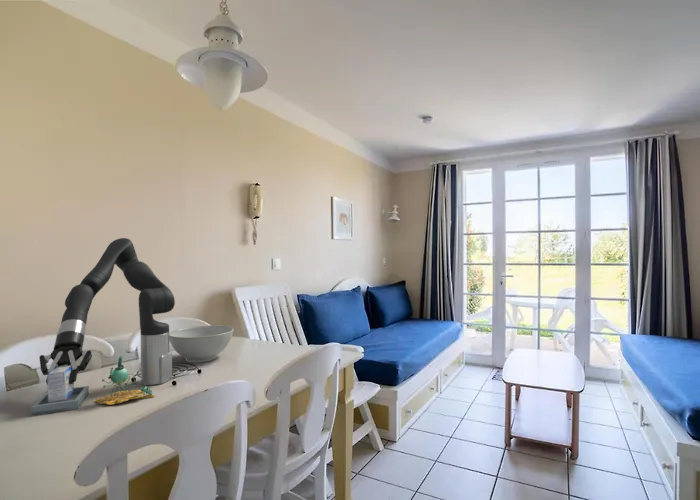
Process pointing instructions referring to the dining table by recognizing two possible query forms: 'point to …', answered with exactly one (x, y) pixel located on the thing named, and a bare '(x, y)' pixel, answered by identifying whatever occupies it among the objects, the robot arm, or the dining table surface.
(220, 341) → the decorative bowl
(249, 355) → the dining table surface
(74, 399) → the tray
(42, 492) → the dining table surface
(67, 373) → the medicine box
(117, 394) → the frog figurine
